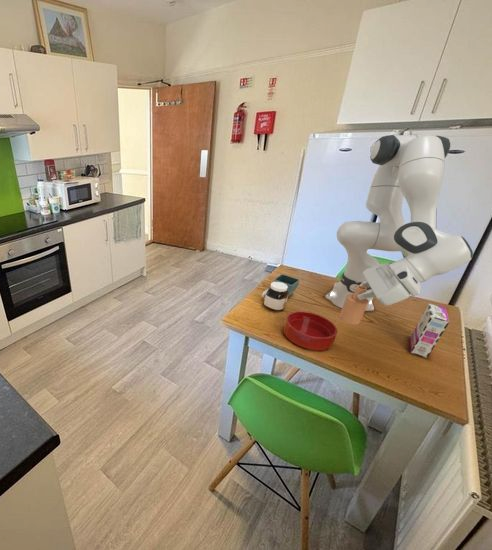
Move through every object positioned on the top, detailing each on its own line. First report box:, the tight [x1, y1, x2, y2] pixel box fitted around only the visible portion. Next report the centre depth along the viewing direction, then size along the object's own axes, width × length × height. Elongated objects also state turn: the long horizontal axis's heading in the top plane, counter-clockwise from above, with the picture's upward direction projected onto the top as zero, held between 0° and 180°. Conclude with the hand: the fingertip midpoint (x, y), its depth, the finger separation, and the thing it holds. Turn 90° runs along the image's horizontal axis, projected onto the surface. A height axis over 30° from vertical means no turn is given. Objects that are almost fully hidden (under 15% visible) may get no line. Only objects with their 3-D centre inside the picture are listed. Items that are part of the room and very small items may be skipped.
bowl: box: [283, 311, 338, 351], centre depth 117 cm, size 17×17×6 cm
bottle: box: [338, 286, 368, 326], centre depth 104 cm, size 6×6×14 cm
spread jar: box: [261, 281, 289, 312], centre depth 137 cm, size 12×11×12 cm
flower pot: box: [273, 273, 301, 298], centre depth 144 cm, size 9×9×9 cm
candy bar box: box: [409, 303, 450, 359], centre depth 107 cm, size 11×5×16 cm, turn 141°
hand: (356, 294), depth 102 cm, fingers closed on bottle, 3 cm apart
